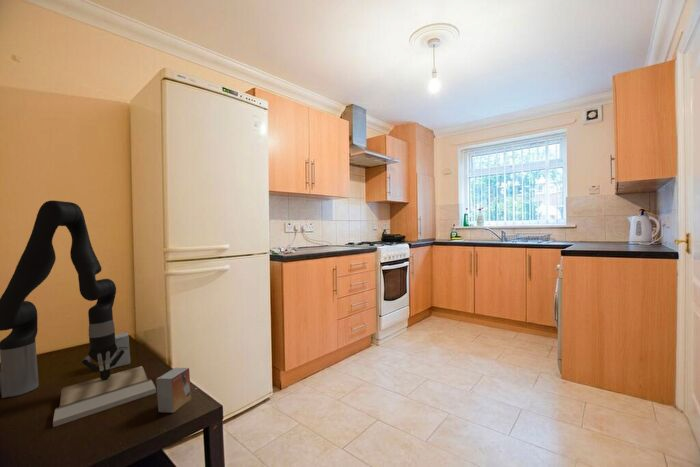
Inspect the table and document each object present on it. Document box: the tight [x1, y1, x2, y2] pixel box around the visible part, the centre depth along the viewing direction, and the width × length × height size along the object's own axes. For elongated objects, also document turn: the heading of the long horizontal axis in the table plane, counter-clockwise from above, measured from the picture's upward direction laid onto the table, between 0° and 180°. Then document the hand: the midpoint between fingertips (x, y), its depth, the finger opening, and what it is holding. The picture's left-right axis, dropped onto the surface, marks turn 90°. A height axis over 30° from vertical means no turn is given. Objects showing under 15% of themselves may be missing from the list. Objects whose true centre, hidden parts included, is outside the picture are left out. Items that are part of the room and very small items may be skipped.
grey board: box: [52, 379, 157, 428], centre depth 104 cm, size 26×10×2 cm, turn 131°
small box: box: [155, 367, 192, 414], centre depth 99 cm, size 8×6×10 cm
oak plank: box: [59, 365, 149, 407], centre depth 113 cm, size 24×14×2 cm, turn 131°
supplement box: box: [110, 332, 131, 370], centre depth 137 cm, size 7×7×13 cm
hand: (105, 379), depth 116 cm, fingers closed
